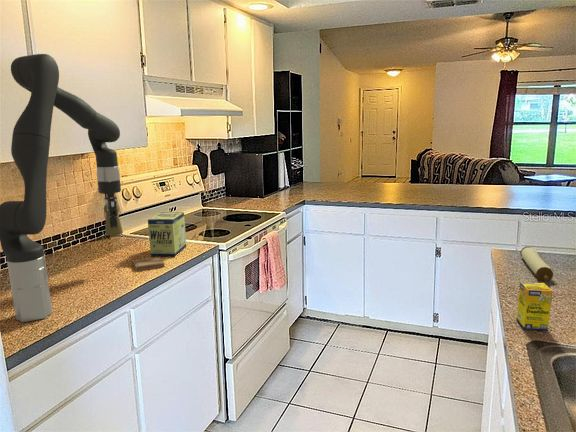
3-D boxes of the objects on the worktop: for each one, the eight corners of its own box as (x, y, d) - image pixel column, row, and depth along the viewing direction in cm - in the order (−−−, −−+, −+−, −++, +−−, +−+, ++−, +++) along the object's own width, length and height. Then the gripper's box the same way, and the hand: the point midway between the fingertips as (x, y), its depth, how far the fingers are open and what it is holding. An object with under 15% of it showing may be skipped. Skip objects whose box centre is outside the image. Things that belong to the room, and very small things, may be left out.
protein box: (150, 257, 184) (147, 219, 180) (163, 246, 199) (160, 211, 195) (175, 257, 183) (172, 219, 179) (186, 246, 198) (184, 211, 195)
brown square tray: (164, 267, 171) (164, 262, 170) (136, 271, 166) (136, 267, 166) (159, 260, 179) (159, 256, 179) (133, 264, 175) (132, 259, 175)
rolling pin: (517, 255, 176) (518, 243, 175) (533, 256, 175) (534, 244, 174) (537, 285, 146) (538, 270, 145) (556, 286, 144) (558, 271, 143)
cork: (117, 235, 162) (114, 205, 159) (101, 235, 163) (98, 205, 160) (126, 231, 167) (123, 202, 165) (111, 231, 169) (108, 202, 166)
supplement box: (523, 330, 115) (527, 289, 113) (515, 320, 121) (519, 281, 119) (548, 331, 114) (553, 290, 112) (539, 321, 120) (543, 282, 118)
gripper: (95, 177, 166) (100, 223, 169) (98, 182, 153) (104, 231, 157) (117, 176, 169) (122, 221, 172) (122, 180, 156) (126, 229, 160)
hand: (113, 226), depth 164 cm, fingers closed on cork, 4 cm apart
